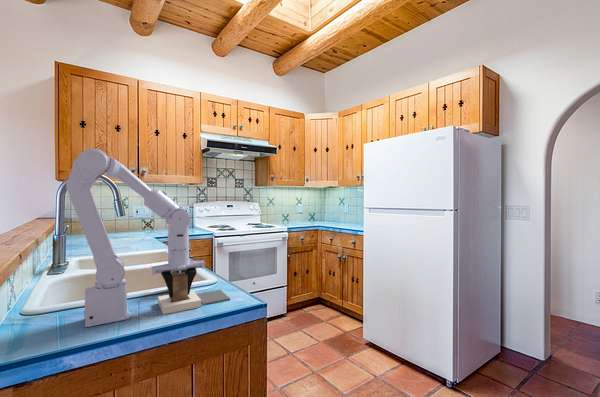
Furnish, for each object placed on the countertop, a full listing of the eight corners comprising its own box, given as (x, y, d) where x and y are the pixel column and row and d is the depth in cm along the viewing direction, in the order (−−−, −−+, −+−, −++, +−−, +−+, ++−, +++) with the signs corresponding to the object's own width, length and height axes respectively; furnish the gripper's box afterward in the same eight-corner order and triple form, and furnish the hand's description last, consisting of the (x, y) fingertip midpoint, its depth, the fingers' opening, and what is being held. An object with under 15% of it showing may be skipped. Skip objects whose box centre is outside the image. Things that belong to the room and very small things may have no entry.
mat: (203, 305, 90) (203, 303, 90) (195, 295, 98) (195, 294, 98) (230, 299, 94) (230, 298, 94) (220, 291, 102) (220, 289, 102)
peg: (173, 308, 87) (172, 277, 87) (170, 304, 91) (170, 274, 90) (187, 305, 89) (187, 275, 89) (185, 301, 93) (184, 272, 93)
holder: (163, 314, 83) (162, 307, 83) (158, 303, 92) (158, 296, 92) (201, 306, 88) (201, 300, 88) (193, 296, 97) (193, 290, 97)
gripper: (152, 254, 82) (153, 304, 83) (207, 248, 90) (207, 294, 90) (150, 250, 88) (150, 296, 89) (201, 245, 96) (201, 288, 96)
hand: (179, 295), depth 90 cm, fingers closed on peg, 4 cm apart
